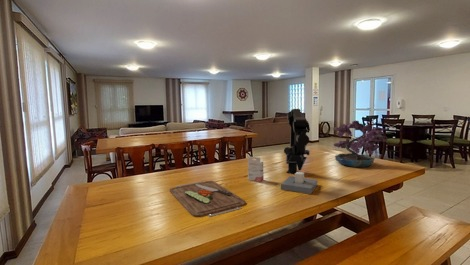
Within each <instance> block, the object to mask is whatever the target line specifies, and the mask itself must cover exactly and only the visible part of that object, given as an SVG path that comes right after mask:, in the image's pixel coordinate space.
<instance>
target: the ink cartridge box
mask: <svg viewBox="0 0 470 265" xmlns="http://www.w3.org/2000/svg"><path fill="white" fill-rule="evenodd" d="M264 178H265V177H264V160H261V157H259V156H247V180H248V181H250V182H251V181H253V182H259V183H260V182H262V181H264Z"/></svg>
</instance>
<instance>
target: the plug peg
mask: <svg viewBox="0 0 470 265" xmlns="http://www.w3.org/2000/svg"><path fill="white" fill-rule="evenodd" d="M294 177H295V183H299V184H304V178H305V172H302V171H298V172H296V173H295V174H294Z"/></svg>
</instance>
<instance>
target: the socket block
mask: <svg viewBox="0 0 470 265" xmlns="http://www.w3.org/2000/svg"><path fill="white" fill-rule="evenodd" d="M317 186H318V179H314V178H306V177H304V184H299V183H295V176H292V175H290V176H288V177H287V178H286V179H285V180H283V182H281V183H280V190H282V191H288V192H294V193H295V192H296V193H302V194H307V195H311V194H312V193H313V192H314V190H315V189H316V187H317Z"/></svg>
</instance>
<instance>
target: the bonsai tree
mask: <svg viewBox="0 0 470 265" xmlns="http://www.w3.org/2000/svg"><path fill="white" fill-rule="evenodd" d="M351 129H354V130H355V131H360V132H361V133H362V135H359V136H358V137H355V138H354V139H352V140H350V138H351V137H352V136H353V134H352V130H351ZM333 130H335V131H336V132H337V133H336V135H337V137H340V138H341V137H342V136H344V135H345V134H348V136H349V137H350V138H346V139H345V140H339V141H338V142H336V143H333V147H335V148H336V147H337V148H338V149H339V148H341V149H345V150H347V151H348V152H349V153H339V154H336V155H335V156H334V157H335V161H336V162H338V164H340V165H341V166H345V167H351V168H368V167H370V166H371V165H372V164H373V163H374V162H375V159H376V158H375V157H372V156H369V155H373V154H374V153H375V151H376V150H377V149H379V148H380V146H379V144H377V143H376V144H375V143H373V142H384V143H385V142H387V141H388V137H387V136H383V134H384V133H385V132H384V128H383V127H380V126H376V127H373V128H372V125H371V124H366V125H364V123H360V121H359V120H353V121H351V122H350V123H347V124H345V123H343V124H342V125H340V126H339V127H338V126H334V127H333ZM381 135H382V136H381ZM360 149H364V150H365V151H367V154H369V155H367V154H360V152H361V151H360Z"/></svg>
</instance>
